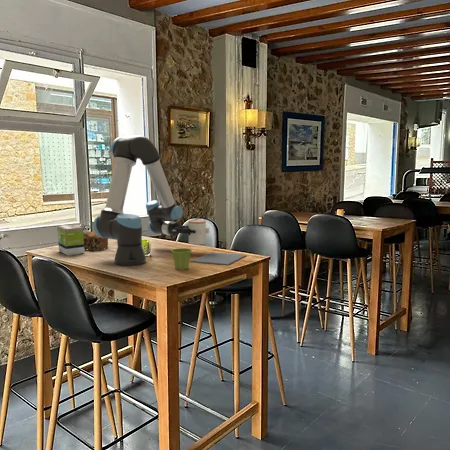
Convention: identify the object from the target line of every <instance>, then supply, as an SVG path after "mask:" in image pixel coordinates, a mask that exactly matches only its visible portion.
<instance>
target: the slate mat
mask: <svg viewBox="0 0 450 450" xmlns="http://www.w3.org/2000/svg"><path fill="white" fill-rule="evenodd" d="M245 255H246V254H240V253H228V252H215V251H212V252H209V253H206V254H204V255H202V256H199V257H196V258H194V259H191V260H190V263H197V264H198V263H199V264H209V265H220V266H221V265H222V266H230V265H231V263H232V264H233V262H234V263H236V262H238V261H239V260H241V259H243V258H245V257H246V256H245ZM244 256H245V257H244ZM242 257H243V258H242ZM240 258H241V259H240ZM238 259H239V260H238ZM235 261H236V262H235ZM229 264H230V265H229Z"/></svg>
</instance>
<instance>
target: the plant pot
mask: <svg viewBox="0 0 450 450" xmlns="http://www.w3.org/2000/svg"><path fill="white" fill-rule="evenodd" d="M192 251H193V249H191V248H173V249H171V250H170V252H171V254H172V256H173V257H172V258H173V263H174V267H175V268H174V269H175V270H178V271H183V270H185V271H186V269H187V270H188V269H189V267H190V261H191V260H190V259H191V254H192Z"/></svg>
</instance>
